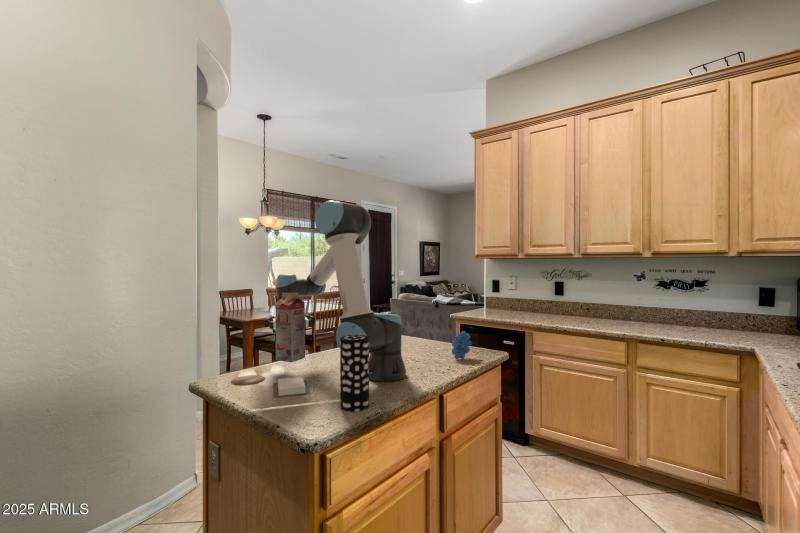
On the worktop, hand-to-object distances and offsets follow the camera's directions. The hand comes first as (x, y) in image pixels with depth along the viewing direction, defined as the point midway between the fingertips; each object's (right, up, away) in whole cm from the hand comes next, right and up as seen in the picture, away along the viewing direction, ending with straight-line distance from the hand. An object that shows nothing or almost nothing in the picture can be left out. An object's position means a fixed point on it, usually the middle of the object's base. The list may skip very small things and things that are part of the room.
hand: (291, 324), depth 123 cm
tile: (-2, -20, +6) cm, 21 cm away
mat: (-1, -22, +2) cm, 22 cm away
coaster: (-18, -22, +11) cm, 30 cm away
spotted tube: (+22, -22, -12) cm, 33 cm away
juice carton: (-1, -12, +4) cm, 13 cm away
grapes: (+61, -22, +45) cm, 79 cm away
